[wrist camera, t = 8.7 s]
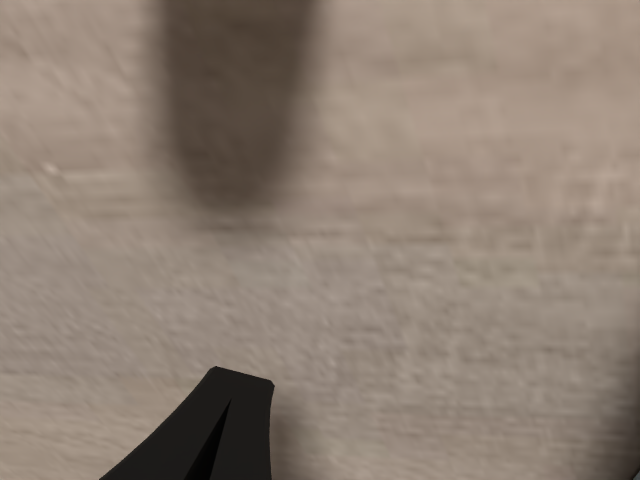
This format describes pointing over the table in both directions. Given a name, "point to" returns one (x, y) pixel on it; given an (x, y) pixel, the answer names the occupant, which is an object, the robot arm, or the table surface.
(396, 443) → the table surface
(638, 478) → the cabinet door
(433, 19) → the table surface
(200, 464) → the robot arm
